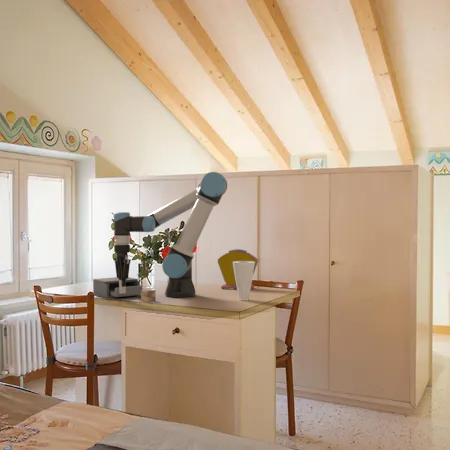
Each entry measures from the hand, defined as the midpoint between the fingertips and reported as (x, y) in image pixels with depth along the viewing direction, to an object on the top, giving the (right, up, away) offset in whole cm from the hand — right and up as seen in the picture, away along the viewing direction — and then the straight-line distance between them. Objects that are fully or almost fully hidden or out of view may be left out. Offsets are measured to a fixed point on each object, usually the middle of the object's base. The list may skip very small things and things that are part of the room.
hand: (122, 293), depth 264 cm
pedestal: (+13, -3, -5) cm, 14 cm away
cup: (+58, -3, -4) cm, 59 cm away
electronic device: (+18, -2, +70) cm, 73 cm away
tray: (-2, -1, +9) cm, 9 cm away
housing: (-6, -3, +15) cm, 16 cm away
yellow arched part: (+56, -2, +37) cm, 68 cm away
